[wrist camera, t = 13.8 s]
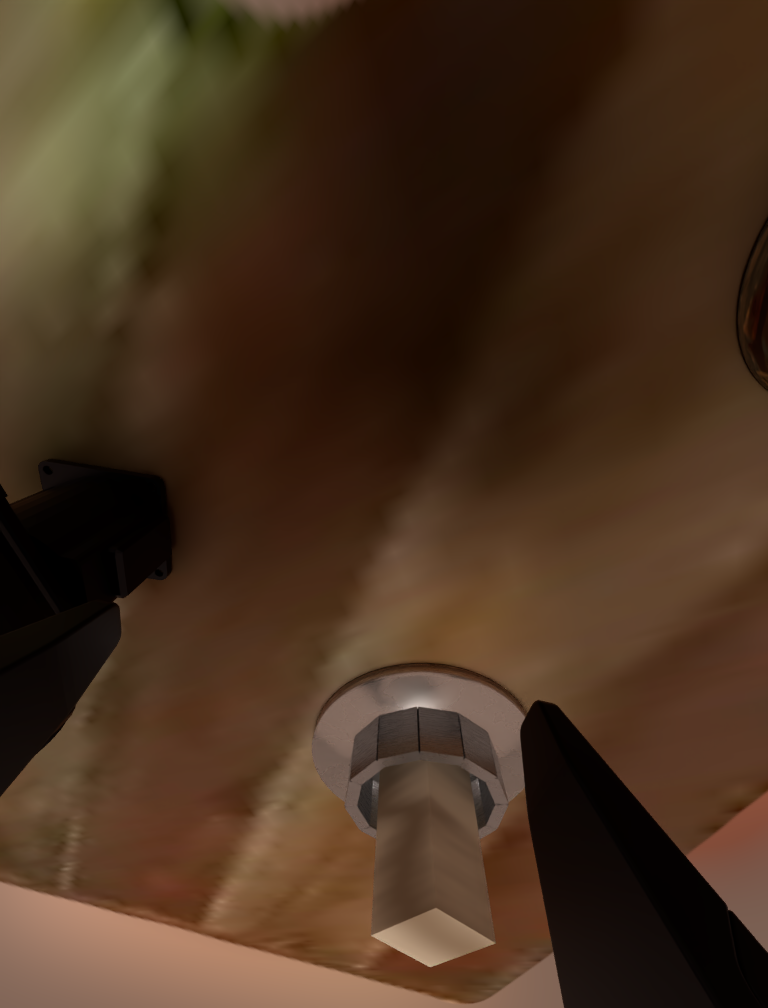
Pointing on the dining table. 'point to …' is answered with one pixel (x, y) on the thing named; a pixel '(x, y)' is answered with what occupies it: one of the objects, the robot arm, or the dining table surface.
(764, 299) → the jar
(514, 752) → the steel rosette
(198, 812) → the dining table surface
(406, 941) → the wedge pin
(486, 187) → the dining table surface
